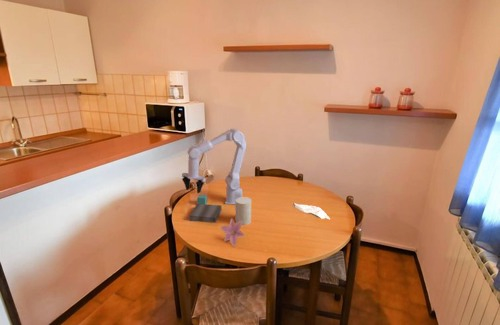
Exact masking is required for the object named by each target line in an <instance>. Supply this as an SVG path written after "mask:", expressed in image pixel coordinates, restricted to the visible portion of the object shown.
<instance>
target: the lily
mask: <svg viewBox="0 0 500 325" xmlns="http://www.w3.org/2000/svg"><path fill="white" fill-rule="evenodd" d="M242 224H243V221H239V222H237V223H236V222H235V221H234V219H233V218H230V222H229V225H222V226H220V230H221V231H223V233H224V234H226V235H225V237H224V239H223V242H226V241H229V242H230V243H231V245H232V246H233V248H235V247H236V245H237V241H238V238H243V237H245V234H244V232H242V231H241V228H242V226H243V225H242Z"/></svg>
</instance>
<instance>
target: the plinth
mask: <svg viewBox="0 0 500 325" xmlns="http://www.w3.org/2000/svg"><path fill="white" fill-rule="evenodd" d="M222 211H223V210H222V204H221V205H220V204H219V205H218V204H208V203H207V204H197V203H196V205H195V206H194V208H193V209H192V211H191V212H190V214H189V215H188V216H189V218H188V219H189V221H191V222H202V223H203V222H204V223H215V224H216V222H217V220H218V219H219V216H220V214H221V212H222Z"/></svg>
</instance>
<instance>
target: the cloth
mask: <svg viewBox="0 0 500 325" xmlns="http://www.w3.org/2000/svg"><path fill="white" fill-rule="evenodd" d="M291 204H292V205H294V208H296V209H298V210H299V211H301V212H304V213H305V214H312V215H314V216H317V217H319V218H320V219H321V220H323V219H327V220H331V218H330V216H329V215H327V213H326V211H324V210H323V209H322V208H321V207H319V206H315V205H308V204H298V203H295V202H291Z"/></svg>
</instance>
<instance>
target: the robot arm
mask: <svg viewBox="0 0 500 325" xmlns="http://www.w3.org/2000/svg"><path fill="white" fill-rule="evenodd" d="M224 141H225V142H226V141H228V142H232V141H233V142H234V144H235V145H236V150H235V152H234V156H233V159H232V160H233V161H232V165H231V168H230V171H229V172H228V174H227V176H226V177H225V180H224V181H225V183H226V184H227V185H226V187H225V188H226V189H225V190H226V191H225V192H226V195H225V196H226V198H225V199H226V200H225V202H224V204H225V205H236V199H237V198H239V197H243V188H241V187H240V185H241V184H240V171H241V168H242V164H243V161H244V157H245V152H246V148H247V142H246V136H245V135H244V134H243V132H242V131H240V130H238V129H237V128H233V127H232V128H230V129H227V130H226V131H224V132H222V133H221V134H219V135H217V136H215V137H214V138H212V139H210V140H208V139H206V140H205V139H203V140H202V142H200V143H198V144H195V145H194V146H190V147H189V148H188V149H187V154H188V160H187V161H188V162H187V163H188V165H187V167H188V168H187V169H188V171H187V172H182V173H181V177H182V179H181V180H182V182H183V184H184V186H185V190H186V191H189V190H190V187H191V180H194V181H196V182H195V184H196V192H197V193H196V194H199V193H201V192H202V188H203V185H204V183H205V182H206V177H203V176H201V175H200V172H199V171H200V159H199V158H200V157H201V155H203V154H206V153H207V152H209V151H210V150H212V149H213V147H214V146H216V145H219V144H220V143H223V142H224Z"/></svg>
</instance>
